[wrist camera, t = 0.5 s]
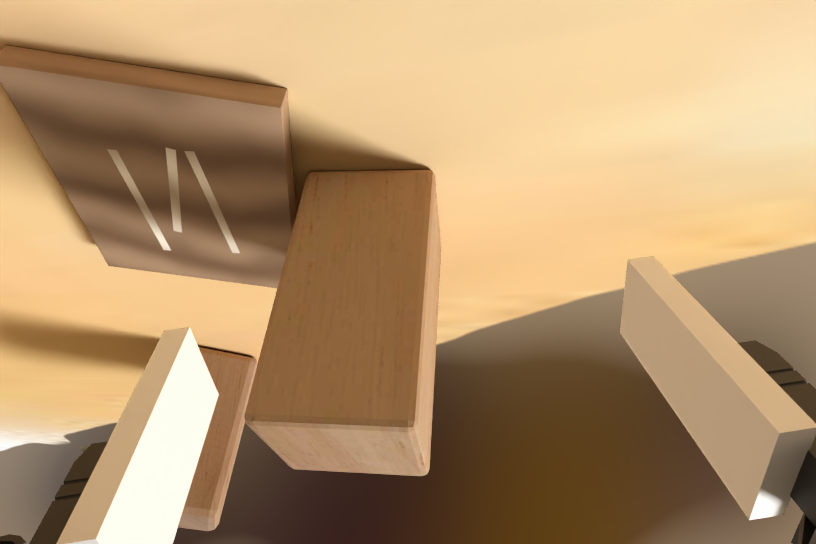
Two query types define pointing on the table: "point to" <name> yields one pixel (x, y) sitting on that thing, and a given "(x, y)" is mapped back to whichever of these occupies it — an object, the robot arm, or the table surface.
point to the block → (219, 438)
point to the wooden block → (354, 327)
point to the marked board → (164, 162)
